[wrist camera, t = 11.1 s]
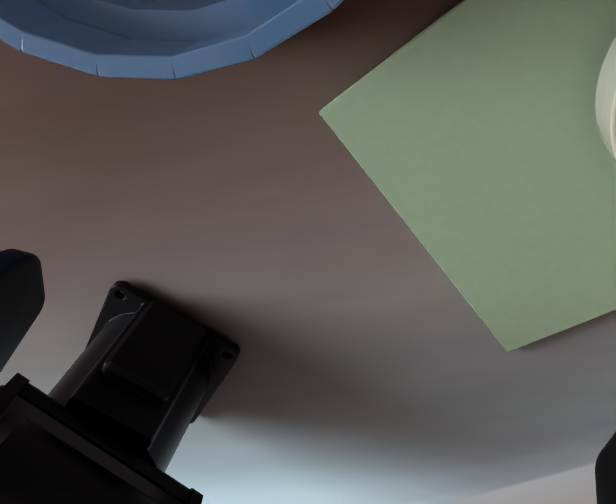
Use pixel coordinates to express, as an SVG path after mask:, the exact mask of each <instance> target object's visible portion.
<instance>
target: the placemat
mask: <svg viewBox="0 0 616 504" xmlns="http://www.w3.org/2000/svg"><path fill="white" fill-rule="evenodd" d="M615 37H616V0H462V1H461V2H460V3H458V4H457V5H456V6H454V7H453V8H452V9H450V10H449V11H448V12H447V13H445V14H444V15H443V16H441V17H440V18H439V19H437V20H436V21H435V22H434V23H432V24H431V25H430V26H428V27H427V28H426V29H425V30H423V31H422V32H421V33H419V34H418V35H417V36H415V37H414V38H413V39H412V40H410V41H409V42H408V43H406V44H405V45H404V46H402V47H401V48H400V49H399V50H397V51H396V52H395V53H393V54H392V55H391V56H390V57H388V58H387V59H386V60H384V61H383V62H382V63H380V64H379V65H378V66H377V67H375V68H374V69H373V70H371V71H370V72H369V73H367V74H366V75H365V76H364V77H362V78H361V79H360V80H358V81H357V82H356V83H355V84H353V85H352V86H351V87H349V88H348V89H347V90H345V91H344V92H343V93H342V94H340V95H339V96H338V97H336V98H335V99H334V100H333V101H331V102H330V103H329V104H327V105H326V106H325V107H323V108H322V109H321V111H320V112H319V113H320V115H321V116H322V117H323V119H324V120H325V121H326V122H327V124H328V125H329V126H330V128H331V129H332V130H333V131H334V133H335V134H336V135H337V136H338V138H339V139H340V140H341V141H342V143H343V144H344V145H345V147H346V148H347V149H348V150H349V152H350V153H351V154H352V155H353V157H354V158H355V159H356V161H357V162H358V163H359V164H360V166H361V167H362V168H363V169H364V171H365V172H366V173H367V175H368V176H369V177H370V178H371V180H372V181H373V182H374V183H375V185H376V186H377V187H378V188H379V190H380V191H381V192H382V194H383V195H384V196H385V197H386V199H387V200H388V201H389V202H390V204H391V205H392V206H393V208H394V209H395V210H396V211H397V213H398V214H399V215H400V216H401V218H402V219H403V220H404V221H405V223H406V224H407V225H408V227H409V228H410V229H411V230H412V232H413V233H414V234H415V235H416V237H417V238H418V239H419V241H420V242H421V243H422V244H423V246H424V247H425V248H426V249H427V251H428V252H429V253H430V255H431V256H432V257H433V258H434V260H435V261H436V262H437V263H438V265H439V266H440V267H441V268H442V270H443V271H444V272H445V274H446V275H447V276H448V277H449V279H450V280H451V281H452V282H453V284H454V285H455V286H456V288H457V289H458V290H459V291H460V293H461V294H462V295H463V296H464V298H465V299H466V300H467V302H468V303H469V304H470V305H471V307H472V308H473V309H474V310H475V312H476V313H477V314H478V315H479V317H480V318H481V319H482V321H483V322H484V323H485V324H486V326H487V327H488V328H489V329H490V331H491V332H492V333H493V335H494V336H495V337H496V338H497V340H498V341H499V342H500V343H501V345H502V346H503V347H504V349H505V350H506V351H507V352H510V351H513V350H515V349H518V348H520V347H523V346H525V345H528V344H530V343H533V342H535V341H538V340H540V339H543V338H546V337H548V336H551V335H553V334H556V333H558V332H561V331H563V330H566V329H568V328H571V327H573V326H576V325H578V324H581V323H583V322H586V321H589V320H591V319H594V318H596V317H599V316H601V315H604V314H606V313H609V312H611V311H614V310H616V163H615V161H614V160H613V158H612V157H611V155H610V153H609V152H608V150H607V149H606V147H605V145H604V142H603V140H602V138H601V136H600V132H599V129H598V125H597V120H596V110H595V100H596V88H597V83H598V78H599V74H600V71H601V68H602V65H603V62H604V59H605V57H606V55H607V53H608V50H609V48H610V46H611V44H612V42H613V40H614V39H615Z"/></svg>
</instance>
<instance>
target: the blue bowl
mask: <svg viewBox="0 0 616 504" xmlns="http://www.w3.org/2000/svg"><path fill="white" fill-rule="evenodd" d="M344 1H345V0H0V40H2V41H4V42H5V43H7V44H9V45H10V46H12V47H14V48H15V49H17V50H19V51H22V52H24V53H27V54H30V55H33V56H36V57H40V58H43V59H46V60H49V61H52V62H55V63H58V64H61V65H65V66H68V67H71V68H74V69H77V70H80V71H83V72H86V73H90V74H93V75H96V76H101V77H120V78H146V79H171V80H175V79H182V78H186V77H190V76H194V75H197V74H201V73H205V72H209V71H213V70H216V69H220V68H224V67H228V66H231V65H235V64H239V63H243V62H246V61H250V60H253V59H255V58H258V57H260V56H262V55H263V54H265V53H266V52H268V51H270V50H271V49H273V48H274V47H276V46H278V45H279V44H281V43H282V42H284V41H286V40H287V39H289V38H291V37H292V36H294V35H295V34H297V33H299V32H300V31H302V30H303V29H305V28H307V27H308V26H310V25H311V24H313V23H315V22H316V21H318V20H319V19H321V18H323V17H324V16H326V15H328V14H329V13H331V12H332V11H333V10H334V9H335V8H337V7H338V6H339V5H340V4H341V3H342V2H344Z"/></svg>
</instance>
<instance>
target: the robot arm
mask: <svg viewBox="0 0 616 504" xmlns="http://www.w3.org/2000/svg"><path fill="white" fill-rule="evenodd" d="M121 291H122V292H123V293H124V294H123V293H122V292H121ZM44 300H45V292H44V284H43V277H42V269H41V262H40V260H39V258H38V257H37V256H36V255H34V254H31V253H28V252H24V251H20V250H17V249H7V250H4V251H0V372H1V371H2V369H3V367H4V366H5V364H6V363H7V361H8V360H9V358H10V357H11V355H12V354H13V352H14V351H15V349H16V348H17V346H18V345H19V343H20V342H21V340H22V339H23V337H24V336H25V334H26V333H27V331H28V330H29V328H30V327H31V325H32V323H33V322H34V320H35V319H36V317H37V316H38V314H39V313H40V311H41V309H42V307H43V304H44ZM227 351H229V352H230V353H228V352H227ZM239 354H240V348H239V347H238V345H236V344H235V343H234V342H232V341H230V340H228V339H227V338H225V337H223V336H221V335H220V334H218V333H216V332H214V331H212V330H211V329H209V328H207V327H205V326H204V325H202V324H200V323H198V322H197V321H195V320H193V319H191V318H189V317H188V316H186V315H184V314H182V313H181V312H179V311H177V310H175V309H174V308H172V307H170V306H168V305H166V304H165V303H163V302H161V301H159V300H158V299H156V298H154V297H152V296H151V295H149V294H147V293H145V292H144V291H142V290H140V289H138V288H136V287H135V286H133V285H131V284H129V283H128V282H125V281H117V282H116V283H115V284H114V285H113V286H112V287H111V289H110V290H109V293H108V295H107V298H106V300H105V303H104V305H103V307H102V310H101V312H100V315H99V317H98V320H97V322H96V325H95V327H94V329H93V332H92V334H91V337H90V339H89V342H88V344H87V346H86V349H85V351H84V352H83V353H82V354H81V355H80V357H79V358H78V359H77V360H76V361H75V363H74V364H73V365H72V366H71V368H70V369H69V370H68V371H67V372H66V374H65V375H64V376H63V377H62V378H61V380H60V381H59V382H58V383H57V384H56V386H55V387H54V388H53V389H52V391H51V392H50V393H49V394H48V395H46V394H45V393H43V392H42V391H40V390H39V389H37V388H36V387H34V386H33V385H31V384H30V383H29V381H30V380H28V379H27V378H25V377H24V376H22V375H21V374H19V373H17V374H16V375H15V376H14V377H13V378H12V379H11V380H10V381H9V382H8V383H7V384H6V385H5V386H4V385H2V386H0V504H201V503H202V499H203V495H202V494H200V493H199V492H197V491H196V490H194V489H193V488H191V489H189V488H187V487H185V486H184V485H182V484H181V483H179V482H178V481H176V480H175V479H173V478H172V477H170V476H169V475H167V474H166V473H165V471H166V469H167V467H168V465H169V463H170V461H171V459H172V457H173V455H174V453H175V451H176V449H177V447H178V445H179V443H180V441H181V439H182V437H183V435H184V433H185V431H186V429H187V427H188V425H189V423H193V422H194V421H195V420H196V418H197V417H198V415H199V414H200V412H201V411H202V409H203V408H204V407H205V405H206V404H207V402H208V401H209V399H210V398H211V397H212V395H213V394H214V392H215V391H216V389H217V388H218V386H219V385H220V384H221V382H222V381H223V379H224V378H225V376H226V375H227V373H228V372H229V371H230V369H231V368H232V366H233V365H234V363H235V362H236V360H237V358H238V356H239ZM595 478H596V495H597V504H616V432H615V434H614V435H613V436H612V437H611V439H610V440H609V441H608V443H607V444H606V445H605V447H604V448H603V449H602V451H601V452H600V454H599V455H598V458H597V461H596V466H595Z"/></svg>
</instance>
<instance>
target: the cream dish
mask: <svg viewBox="0 0 616 504" xmlns="http://www.w3.org/2000/svg"><path fill="white" fill-rule="evenodd" d="M595 110H596V120H597V125H598V129H599V132H600V136H601V138H602V140H603V142H604V145H605V147H606V149H607V150H608V152H609V153H610V155H611V157H612V158H613V160H614V161H615V163H616V37H615V39H614V40H613V42H612V44H611V46H610V48H609V50H608V53H607V55H606V57H605V59H604V62H603V65H602V68H601V71H600V74H599V78H598V83H597V88H596V100H595Z"/></svg>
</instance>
